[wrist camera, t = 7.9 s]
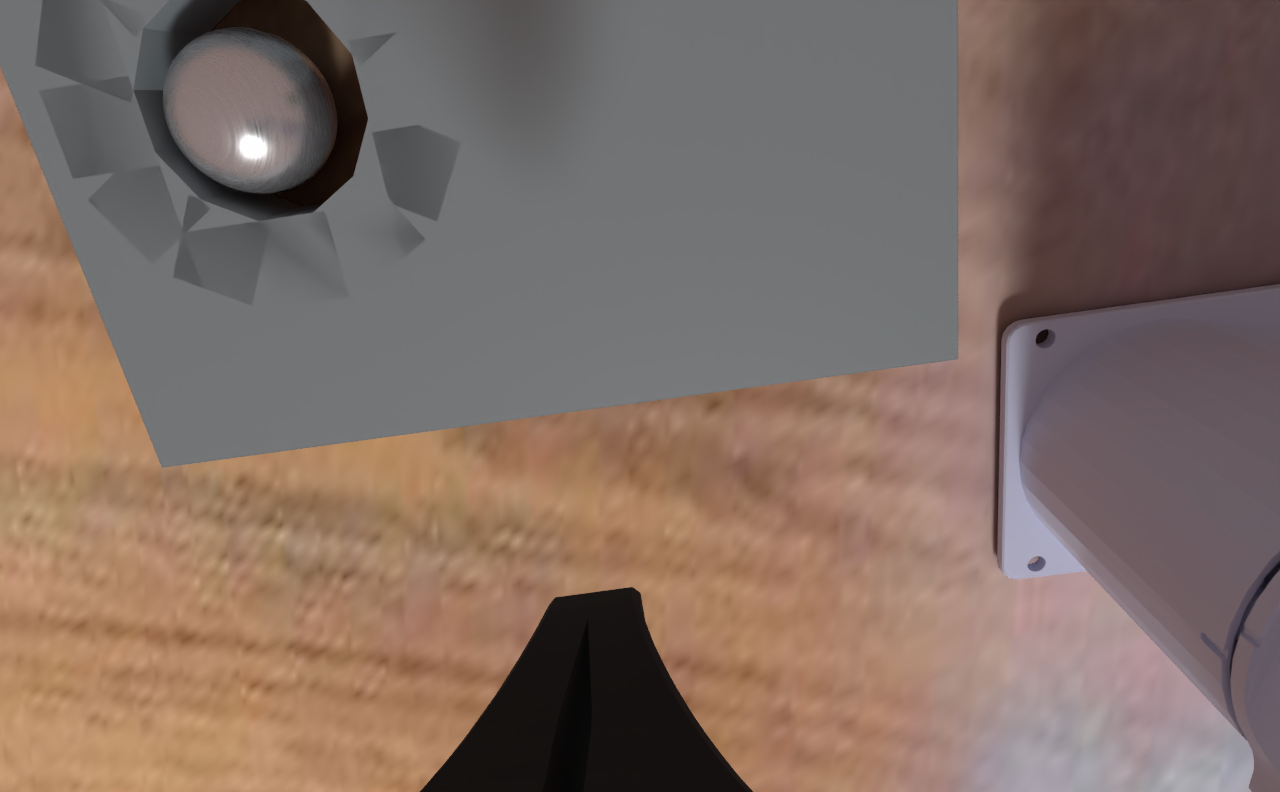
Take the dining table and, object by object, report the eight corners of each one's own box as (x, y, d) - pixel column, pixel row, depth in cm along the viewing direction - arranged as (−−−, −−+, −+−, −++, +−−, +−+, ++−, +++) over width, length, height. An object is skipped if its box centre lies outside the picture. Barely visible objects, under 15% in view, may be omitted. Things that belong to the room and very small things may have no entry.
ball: (97, 37, 16) (230, 20, 19) (157, 207, 18) (270, 167, 20) (231, 36, 15) (350, 18, 18) (281, 218, 17) (382, 175, 19)
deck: (909, -438, 16) (956, -532, 13) (923, 329, 21) (957, 359, 19) (-44, -261, 17) (-154, -318, 14) (212, 428, 22) (162, 467, 20)
